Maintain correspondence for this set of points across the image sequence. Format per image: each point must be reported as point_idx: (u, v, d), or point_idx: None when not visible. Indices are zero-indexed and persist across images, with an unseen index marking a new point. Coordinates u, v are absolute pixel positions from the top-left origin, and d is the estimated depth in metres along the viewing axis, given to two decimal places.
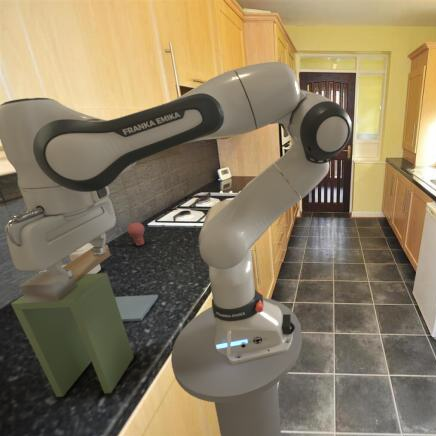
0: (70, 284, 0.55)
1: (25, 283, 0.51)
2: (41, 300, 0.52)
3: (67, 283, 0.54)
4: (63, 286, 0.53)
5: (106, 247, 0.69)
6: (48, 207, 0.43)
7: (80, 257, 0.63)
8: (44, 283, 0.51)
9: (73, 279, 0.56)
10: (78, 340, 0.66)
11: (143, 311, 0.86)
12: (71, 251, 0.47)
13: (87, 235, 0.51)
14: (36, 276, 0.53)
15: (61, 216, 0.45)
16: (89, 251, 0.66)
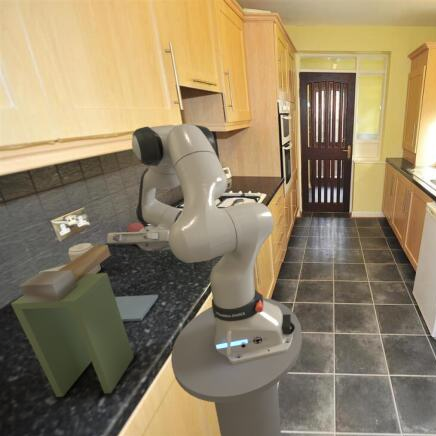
0: (70, 284, 0.55)
1: (25, 283, 0.51)
2: (41, 300, 0.52)
3: (67, 283, 0.54)
4: (63, 286, 0.53)
5: (106, 247, 0.69)
6: None
7: (80, 257, 0.63)
8: (44, 283, 0.51)
9: (73, 279, 0.56)
10: (78, 340, 0.66)
11: (143, 311, 0.86)
12: (127, 232, 0.88)
13: None
14: (36, 276, 0.53)
15: None
16: (89, 251, 0.66)
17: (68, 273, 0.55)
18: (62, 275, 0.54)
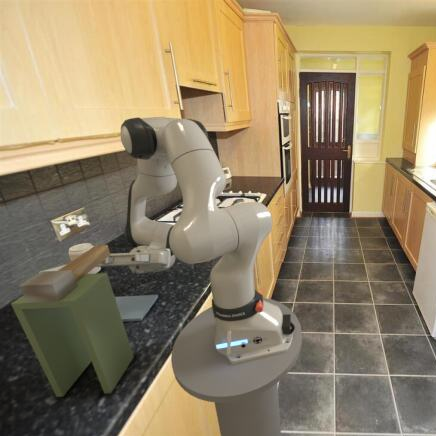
0: (70, 284, 0.55)
1: (25, 283, 0.51)
2: (41, 300, 0.52)
3: (67, 283, 0.54)
4: (63, 286, 0.53)
5: (106, 247, 0.69)
6: None
7: (80, 257, 0.63)
8: (44, 283, 0.51)
9: (73, 279, 0.56)
10: (78, 340, 0.66)
11: (143, 311, 0.86)
12: None
13: None
14: (36, 276, 0.53)
15: None
16: (89, 251, 0.66)
17: (68, 273, 0.55)
18: (62, 275, 0.54)
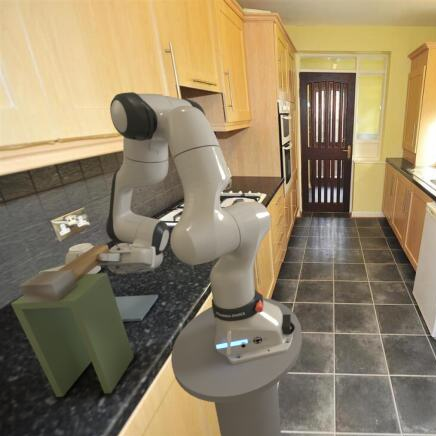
0: (70, 284, 0.55)
1: (25, 283, 0.51)
2: (41, 300, 0.52)
3: (67, 283, 0.54)
4: (63, 286, 0.53)
5: (106, 247, 0.69)
6: None
7: (80, 257, 0.63)
8: (44, 283, 0.51)
9: (73, 279, 0.56)
10: (78, 340, 0.66)
11: (143, 311, 0.86)
12: None
13: None
14: (36, 276, 0.53)
15: None
16: (89, 251, 0.66)
17: (68, 273, 0.55)
18: (62, 275, 0.54)
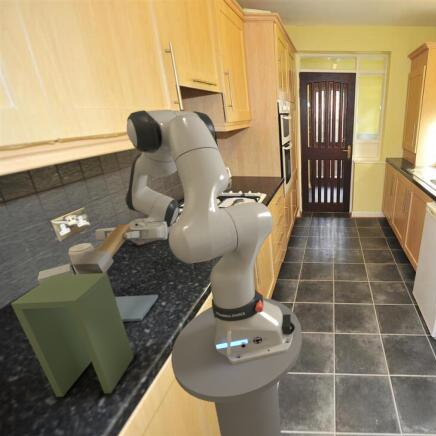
0: (109, 261, 0.72)
1: (77, 262, 0.68)
2: None
3: (107, 260, 0.71)
4: (105, 263, 0.70)
5: (128, 226, 0.84)
6: None
7: (110, 236, 0.78)
8: (91, 262, 0.68)
9: (110, 257, 0.73)
10: (78, 340, 0.66)
11: (143, 311, 0.86)
12: None
13: (131, 228, 0.87)
14: (83, 256, 0.70)
15: None
16: (115, 230, 0.81)
17: (106, 253, 0.71)
18: (102, 255, 0.70)
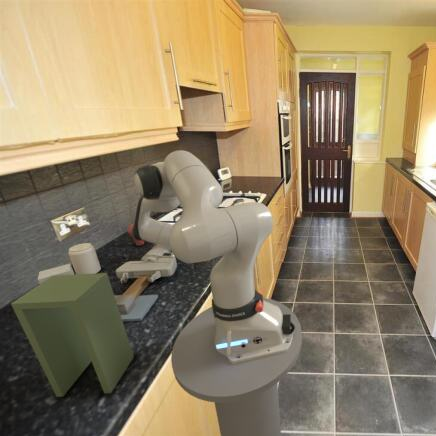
0: (132, 303, 0.88)
1: None
2: None
3: (131, 303, 0.87)
4: (129, 305, 0.86)
5: None
6: None
7: (134, 284, 0.96)
8: (119, 303, 0.84)
9: (133, 300, 0.89)
10: (78, 340, 0.66)
11: (143, 311, 0.86)
12: (132, 269, 1.00)
13: (145, 267, 1.01)
14: None
15: (142, 261, 1.06)
16: (138, 279, 0.98)
17: (131, 296, 0.88)
18: (128, 298, 0.87)
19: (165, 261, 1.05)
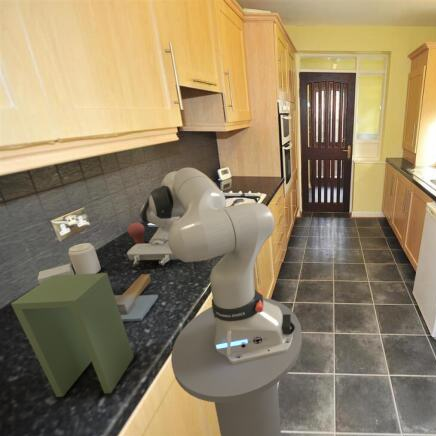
0: (132, 303, 0.88)
1: None
2: None
3: (131, 303, 0.87)
4: (129, 305, 0.86)
5: (148, 276, 1.01)
6: None
7: (134, 284, 0.96)
8: (119, 303, 0.84)
9: (133, 300, 0.89)
10: (78, 340, 0.66)
11: (143, 311, 0.86)
12: (142, 252, 1.10)
13: (155, 251, 1.11)
14: None
15: (150, 243, 1.15)
16: (138, 279, 0.98)
17: (131, 296, 0.88)
18: (128, 298, 0.87)
19: None
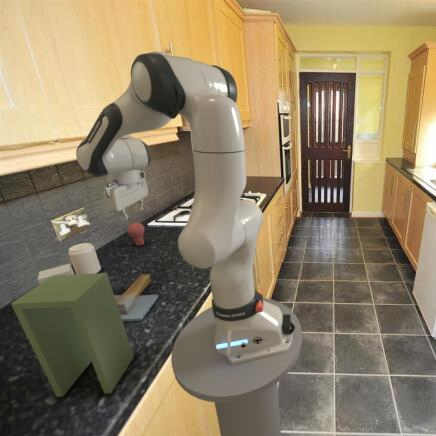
0: (132, 303, 0.88)
1: None
2: None
3: (131, 303, 0.87)
4: (129, 305, 0.86)
5: (148, 276, 1.01)
6: (120, 180, 0.87)
7: (134, 284, 0.96)
8: (119, 303, 0.84)
9: (133, 300, 0.89)
10: (78, 340, 0.66)
11: (143, 311, 0.86)
12: (129, 204, 0.90)
13: (135, 198, 0.94)
14: None
15: (125, 186, 0.88)
16: (138, 279, 0.98)
17: (131, 296, 0.88)
18: (128, 298, 0.87)
19: (140, 183, 0.98)
